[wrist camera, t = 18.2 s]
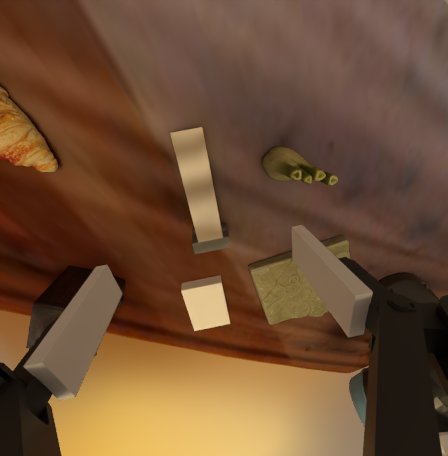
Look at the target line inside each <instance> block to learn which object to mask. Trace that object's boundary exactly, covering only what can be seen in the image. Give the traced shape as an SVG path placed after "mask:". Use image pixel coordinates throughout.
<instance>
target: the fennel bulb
mask: <svg viewBox="0 0 448 456" xmlns="http://www.w3.org/2000/svg"><path fill="white" fill-rule="evenodd" d="M263 166H264V168H265V170H266V172H267V174H268V175H269V176H270V177H271V178H272V179H274V180H277V181H287V180H294V181H299V180H302V181H303V182H304V183H306V184H311V183H312V180H315V181H321V182H323V183H325V184H327V185H331V186H332V185H334V184H336V183H337V182H338V178H337V177H336V176H335V175H333V174H330V173H328V172H325V171H322V170H321V169H318V168H316V167H314V166H312V165H311V164H310V163H308V162H307V161H306V160H305V159H304V158H302V157H301V156H300V155H299V154H297V153H296V152H295V151H293V150H292V149H290V148H286V147H282V146H278V147H274V148H272V149H271V150H270V151H269V153H268V154H267V155H266V156H265V157H264V159H263Z"/></svg>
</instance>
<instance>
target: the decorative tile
mask: <svg viewBox="0 0 448 456" xmlns="http://www.w3.org/2000/svg"><path fill="white" fill-rule="evenodd" d="M321 243H322V244H323V245H324V246H325V247H326V248H327V249H328V250H329V251H330V252H331V253H332V254H333V255H335V256H336V257H337V258H343V257H347V258H349V259H350V255H349V242H348V240H347V239H346V238H345V237H344V236H338V237H335V238H331V239H328V240H325V241H322V242H321ZM248 268H249V271H250V274H251V277H252V279H253V283H254V285H255V288H256V291H257V293H258V296H259V300H260V302H261V305H262V307H263V310H264V313H265V316H266V318H267V320H268V322H269V324H270V325H272V324H276V323H278V322H281V321H284V320H287V319H290V318H297V317H298V318H300V317H304V316H306V315H309V316H322V315H323V314H324V313H327V312H330V311H329V310H328V308H327V307H326V305H325V304H324V303H323V301H322V300H321V298H320V297H319V295H318V294H317V293H316V291H315V290H314V288H313V287H312V286H311V284H310V283H309V281H308V280H307V278H306V277H305V276H304V274H303V273H302V271H301V270H300V269H299V267H298V266H297V264H296V263H295V262H294V260H293V259H292V251H291V252H288V253H284V254H281V255H278V256H275V257H272V258H269V259H265V260H262V261H259V262H256V263H253V264H250V265H248Z"/></svg>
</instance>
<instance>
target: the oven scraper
mask: <svg viewBox="0 0 448 456" xmlns="http://www.w3.org/2000/svg"><path fill="white" fill-rule="evenodd" d="M170 134H171V138H172V142H173V146H174V150H175V154H176V157H177V161H178V165H179V169H180V173H181V177H182V181H183V185H184V189H185V193H186V196H187V200H188V204H189V208H190V212H191V216H192V220H193V224H194V228H195V229H194V230H193V235H192V245H193V249H194V253H195V254H199V253H204V252H209V251H213V250H218V249H223V248H228V247H231V244H230V238H229V234H228V230H227V227H226V223H224V224H220V219H219V213H218V208H217V203H216V197H215V192H214V187H213V181H212V176H211V171H210V166H209V160H208V155H207V150H206V144H205V139H204V134H203V128H202V127H198V128H192V129H187V130H181V131H176V132H172V133H170Z"/></svg>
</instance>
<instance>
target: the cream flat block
mask: <svg viewBox="0 0 448 456" xmlns="http://www.w3.org/2000/svg"><path fill="white" fill-rule="evenodd" d="M181 292H182V295H183V298H184V301H185V304H186V307H187V310H188V313H189V316H190V319H191V322H192V325H193V328H194V331H197V330H202V329H207V328H211V327H216V326H221V325H226V324H230V320H229V314H228V309H227V304H226V299H225V295H224V290H223V285H222V280H221V276H220V275H219V276H214V277H209V278H204V279H199V280H194V281H189V282H184V283H182V288H181Z"/></svg>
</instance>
